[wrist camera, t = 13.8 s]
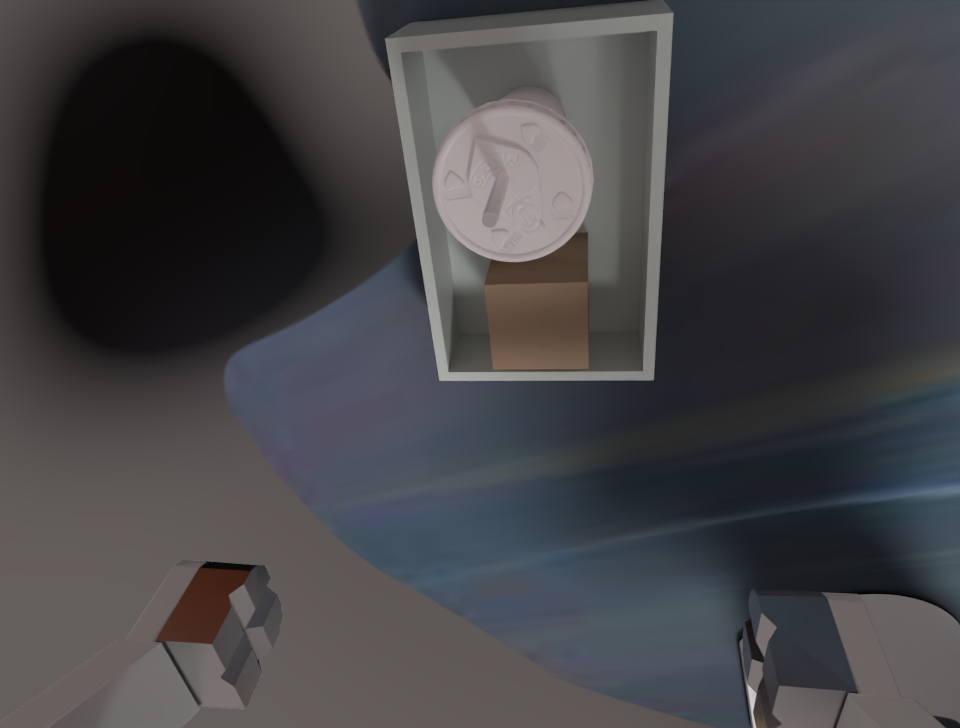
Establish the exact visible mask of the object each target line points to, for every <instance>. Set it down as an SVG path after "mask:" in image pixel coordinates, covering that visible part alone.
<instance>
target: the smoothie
mask: <svg viewBox="0 0 960 728" xmlns="http://www.w3.org/2000/svg"><path fill="white" fill-rule="evenodd" d="M593 183H594V176H593V167H592V159H591V157H590V154H589V152H588V149H587V147H586V144H585V142H584V139H583V138H582V137H581V135H580V134H579V133H578V132H577V130H576V129H575V128H574V126H573V125H572V124H571V122H570V121H568V120H567V118H566V115H565V113H564V110H563V108H562V106H561V104H560V102H559V101H558V100H557V98H556V97H555V96H554V95H553V94H551V93H550V92H549V91H547V90H545V89H543V88H540V87H536V86H523V87H519V88H516V89H514V90H512V91H511V92H509V93H508V94H506V95H505V96H504V97H502V98H501V99H499V100H498V101H493V102H488V103H486V104H484V105H482V106H479V107H477V108H475V109H473V110H471V111H469V112H468V113H467V114H465V115H464V116H463V117H462V118H461V119H460V120H459V121H458V122H457V123H456V124H454V125H453V126H452V128H451V129H450V131H449V132H448V134H447V136H446V137H445V139H444V140H443V142H442V144H441V146H440V150H439V152H438V154H437V157H436V160H435V164H434V169H433V176H432V188H433V196H434V201H435V204H436V208H437V210H438V213H439V215H440V217H441V219H442V221H443V222H444V224H445V226H446V227H447V229H448V230H449V231H450V232H451V234H452V235H453V236H454V237H455V238H456V239H457V240H458V241H459V242H461V243H462V244H463V245H464V246H466V247H467V248H468V249H470V250H472V251H473V252H475V253H477V254H479V255H482V256H484V257H487V258H490V259H493V260H498V261H504V262H524V261H530V260H534V259H538V258H541V257H543V256H546V255H548V254H550V253H552V252H554V251H555V250H557V249H558V248H560V247H561V246H563V245H564V244H565V243H566V242H567V241H568V240H569V239H570V238H571V237H572V236H573V235H574V234H575V233H576V231H577V230H578V229H579V227H580V226H581V224H582V222H583V220H584V218H585V216H586V214H587V211H588V208H589V204H590V201H591V196H592V189H593Z"/></svg>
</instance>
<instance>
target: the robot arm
mask: <svg viewBox="0 0 960 728" xmlns="http://www.w3.org/2000/svg"><path fill="white" fill-rule="evenodd" d="M269 580H270V576H269V574H268V572H267V570H266V568H265V566H261V565H249V564H236V563H222V562H210V561H195V560H194V561H193V560H181V561H180V562H178V563H177V564H176V565H174V566H173V567H172V569H171V570H170V572H169V573H168V575H167V577H166V578H165V580H164V581H163V583H162V584H161V586H160V587H159V589H158V590H157V592H156V593H155V595H154V596H153V598H152V599H151V601H150V602H149V604H148V605H147V607H146V609H145V610H144V612H143V613H142V615H141V616H140V618H139V619H138V621H137V622H136V624H135V625H134V627H133V628H132V630H131V631H130V633H129V635H128V636H127V637H126V639H117V640H116V641H114V642H113V643H111V644H110V645H108V646H107V647H106V648H104V649H103V650H101V651H100V652H99V653H97V654H96V655H94V656H93V657H91V658H90V659H89V660H87V661H86V662H84V663H83V664H81V665H80V666H78V667H77V668H76V669H74V670H73V671H71V672H70V673H68V674H67V675H66V676H64V677H63V678H61V679H60V680H59V681H57V682H56V683H54V684H53V685H51V686H50V687H48V688H47V689H46V690H44V691H43V692H41V693H40V694H38V695H37V696H36V697H34V698H33V699H31V700H30V701H28V702H27V703H26V704H24V705H23V706H21V707H20V708H18V709H17V710H15V711H14V712H13V713H11V714H10V715H8V716H7V717H6V718H4V719H3V720H1V721H0V728H182V727H183V726H184V725H185V724H186V723H187V722H188V721H189V720H190V719H191V718H192V717H193V716H194V715H195V714H196V713H197V712H198V711H199V710H200V708H199V707H215V708H232V709H246V708H247V705H248V703H249V701H250V699H251V696H252V694H253V692H254V690H255V687H256V685H257V683H258V681H259V678H260V676H261V674H262V671H261V666H260V662H259V660H260V659H261V658H262V657H263V656H265V655H266V654H267V653H268V652H269V651H271V650H272V649H273V647H274V644H275V642H276V639H277V637H278V634H279V630H280V624H281V618H282V612H281V604H280V601H279V598H278V596H277V594H275V593H274V592H273V591H271V590H270V589H269V588H268V587H266V586H267V584H268V582H269ZM748 607H749V612H750V617H751V618H750V619H748V620H747V621H745V622H744V630H743V638H742V639H741V641H740V643H739V646H740V653H741V660H742V666H743V673H744V680H745V686H746V693H747V700H748V706H749V713H750V720H751V726H752V728H960V624H959V623H958V622H957V621H956V620H955V619H954V618H953V617H952V616H951V615H950V614H949V613H947V612H946V611H944V610H942V609H941V608H939V607H937V606H935V605H933V604H930V603H927V602H925V601H921V600H918V599H914V598H910V597H905V596H898V595H888V594H863V595H858V594H850V593H827V592H821V593H820V592H819V591H798V590H770V589H752V591H751V592H750V595H749V600H748Z"/></svg>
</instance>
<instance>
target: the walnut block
mask: <svg viewBox="0 0 960 728" xmlns="http://www.w3.org/2000/svg"><path fill="white" fill-rule="evenodd" d="M484 289H485V299H486V308H487V318H488V327H489V337H490V346H491V356H492V365H493V369H589V290H588V232H585V233H575V234H574V235H573V236H572V237H571V238H570V239H569V240H568V241H567V242H566V243H565V244H564V245H563V246H561V247H560V248H558V249H557V250H555V251H554V252H552V253H550V254H548V255H546V256H543V257H541V258H538V259H534V260H530V261H524V262H504V261H498V260H493V259H491V262H490V266H489V269H488V273H487V276H486V280H485V283H484Z"/></svg>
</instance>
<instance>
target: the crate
mask: <svg viewBox="0 0 960 728" xmlns="http://www.w3.org/2000/svg"><path fill="white" fill-rule="evenodd" d="M672 32H673V11H672V10H671V9H670V8H669V6H668V5H667V4H666V3H665V1H664V0H645V1H635V2H624V3H613V4H603V5H592V6H581V7H570V8H560V9H549V10H538V11H528V12H517V13H506V14H496V15H485V16H474V17H463V18H453V19H442V20H431V21H421V22H410V23H409V24H407V25H406V26H404V27H403V28H401V29H399V30H398V31H396V32H395V33H393V34H392V35H390V36H388V37H387V38H385V42H386V48H387V54H388V60H389V67H390V73H391V79H392V86H393V92H394V98H395V104H396V111H397V117H398V123H399V129H400V136H401V142H402V148H403V154H404V160H405V167H406V172H407V180H408V186H409V192H410V198H411V205H412V211H413V217H414V223H415V230H416V236H417V242H418V249H419V255H420V261H421V268H422V274H423V280H424V286H425V293H426V299H427V305H428V311H429V318H430V324H431V330H432V337H433V343H434V349H435V355H436V362H437V368H438V374H439V380H440V381H595V380H654V367H655V348H656V330H657V311H658V293H659V274H660V255H661V237H662V218H663V200H664V181H665V162H666V144H667V125H668V107H669V88H670V69H671V51H672ZM523 86H536V87H540V88H543V89H545V90H547V91H549V92H550V93H551V94H553V95H554V96H555V97H556V98H557V100H558V101H559V102H560V104H561V106H562V108H563V110H564V113H565V115H566V118H567V120H568V121H570V122H571V124H572V125H573V126H574V128H575V129H576V130H577V132H578V133H579V134H580V135H581V137H582V138H583V139H584V142H585V144H586V147H587V149H588V152H589V154H590V157H591V159H592V167H593V176H594V183H593V189H592V196H591V201H590V204H589V208H588V211H587V214H586V216H585V218H584V220H583V222H582V224H581V226H580V227H579V229H578V230H577V231H576V233H585V232H588V290H589V369H493V365H492V356H491V346H490V337H489V327H488V318H487V308H486V299H485V289H484V283H485V280H486V276H487V273H488V269H489V266H490V262H491V259H490V258H487V257H484V256H482V255H479V254H477V253H475V252H473V251H472V250H470V249H468V248H467V247H466V246H464V245H463V244H462V243H461V242H459V241H458V240H457V239H456V238H455V237H454V236H453V235H452V234H451V232H450V231H449V230H448V229H447V227H446V226H445V224H444V222H443V221H442V219H441V217H440V215H439V213H438V210H437V208H436V204H435V201H434V196H433V188H432V176H433V169H434V164H435V160H436V157H437V154H438V152H439V150H440V146H441V144H442V142H443V140H444V139H445V137H446V136H447V134H448V132H449V131H450V129H451V128H452V126H453V125H454V124H456V123H457V122H458V121H459V120H460V119H461V118H462V117H463V116H464V115H465V114H467V113H468V112H469V111H471V110H473V109H475V108H477V107H479V106H482V105H484V104H486V103H488V102H493V101H498V100H499V99H501V98H502V97H504V96H505V95H506V94H508V93H509V92H511V91H512V90H514V89H516V88H519V87H523Z"/></svg>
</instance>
